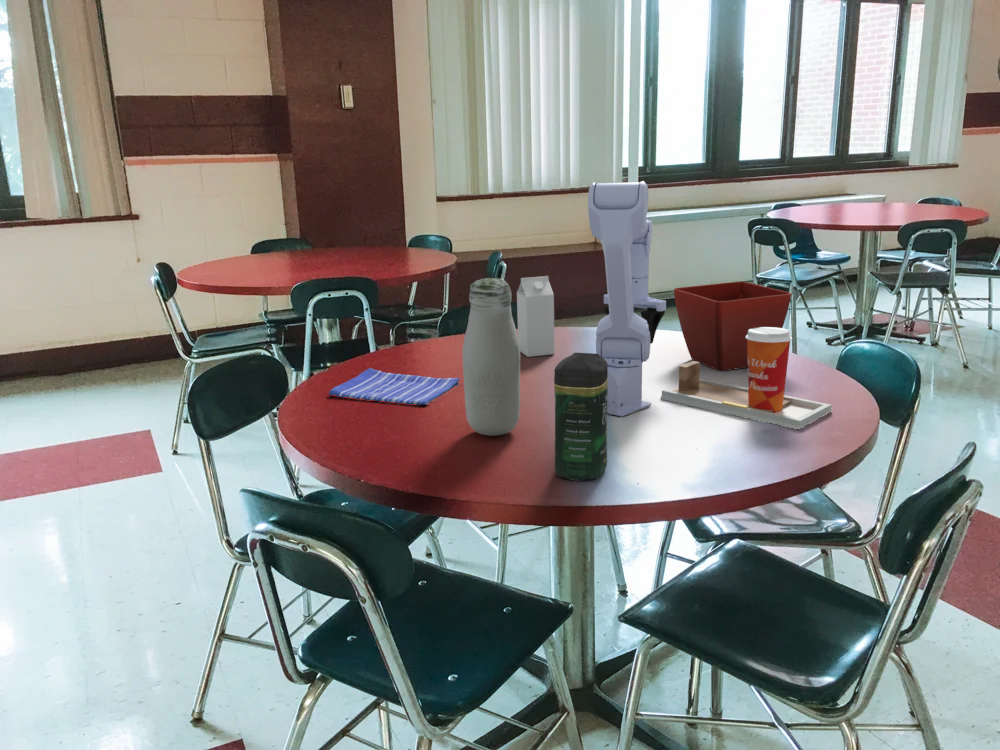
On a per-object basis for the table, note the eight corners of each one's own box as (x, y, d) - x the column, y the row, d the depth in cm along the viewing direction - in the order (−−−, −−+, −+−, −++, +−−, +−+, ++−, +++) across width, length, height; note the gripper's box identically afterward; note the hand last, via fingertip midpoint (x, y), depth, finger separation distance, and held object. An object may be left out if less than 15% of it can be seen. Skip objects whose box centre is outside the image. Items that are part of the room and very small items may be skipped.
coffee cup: (733, 407, 154) (736, 329, 150) (763, 400, 158) (766, 324, 154) (768, 417, 147) (772, 336, 143) (798, 409, 151) (803, 330, 148)
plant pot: (714, 377, 176) (717, 300, 171) (670, 357, 193) (671, 287, 189) (789, 367, 181) (794, 293, 177) (739, 349, 199) (742, 281, 194)
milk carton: (518, 351, 204) (516, 276, 199) (544, 348, 206) (543, 274, 201) (527, 357, 198) (525, 280, 192) (554, 354, 200) (553, 277, 194)
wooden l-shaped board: (766, 415, 148) (767, 386, 146) (669, 394, 163) (670, 367, 161) (790, 404, 154) (792, 375, 153) (694, 384, 169) (695, 358, 167)
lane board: (798, 430, 142) (799, 419, 141) (660, 398, 162) (660, 389, 162) (831, 412, 151) (832, 402, 150) (696, 384, 171) (696, 375, 170)
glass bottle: (462, 442, 141) (454, 283, 134) (472, 423, 151) (465, 274, 144) (518, 443, 140) (514, 282, 132) (524, 424, 150) (521, 273, 142)
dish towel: (369, 378, 186) (368, 366, 185) (462, 386, 177) (461, 374, 176) (326, 399, 171) (324, 387, 170) (425, 409, 162) (425, 396, 161)
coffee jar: (601, 484, 122) (601, 365, 117) (550, 480, 124) (548, 363, 119) (611, 461, 131) (612, 349, 126) (563, 457, 133) (562, 347, 128)
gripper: (675, 277, 164) (673, 342, 168) (618, 271, 174) (618, 332, 178) (654, 281, 159) (653, 348, 163) (597, 275, 170) (597, 338, 173)
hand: (633, 341), depth 170 cm, fingers open, 7 cm apart
